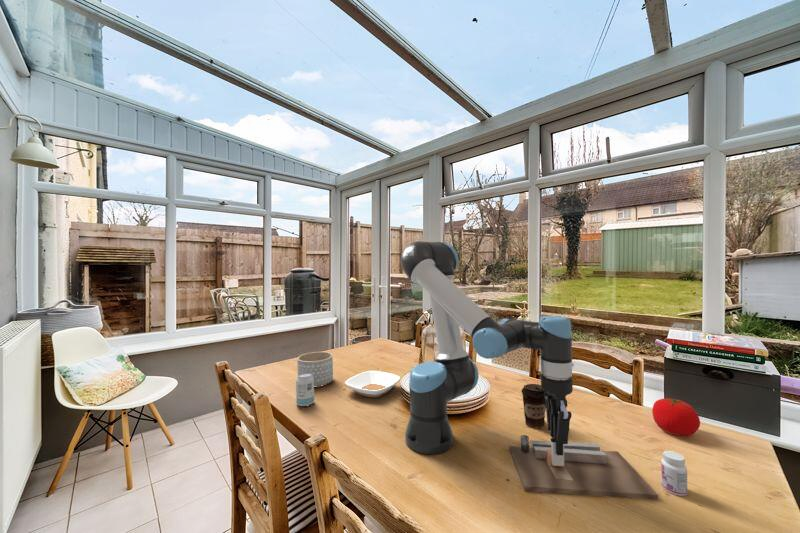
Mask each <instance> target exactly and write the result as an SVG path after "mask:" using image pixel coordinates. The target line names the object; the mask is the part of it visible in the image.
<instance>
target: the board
mask: <svg viewBox="0 0 800 533" xmlns="http://www.w3.org/2000/svg"><path fill="white" fill-rule="evenodd" d="M508 449H509V454H510V455H511V459H512V460H513V463H514V466H515V470H516V472H517V475H518V477H519V480H520V483H521V486H522V488H523V490H524V491H523V492H534V493H548V494H549V493H550V494H562V495H563V494H565V495H577V494H578V495H579V496H591V495H592V496H595V497H606V496H610V497H609V498H620V499H621V498H622V499H623V498H626V499H637V500H638V499H639V500H641V499H642V500H650V501H651V500H653V501H654V500H655V501H659V498H660V497H659V493H657V492H656V491H655V489H654V488H653V487H652V486H651V485H650V484H649V482H647V481H646V480H645V479H644V478H643V477H642V476H641V475H640V473H638V472H637V470H635V468H634V467H633V466H632V465H631V464H630V463H629V462H628V461H627V460H626V458H624V457H623V456H622V454H620V452H619V451H616V450H615V451H613V450H612V451H611V450H602V451H603V452H604V453H605V454H606V460H607V464H597V463H585V462H572V461H564V466H550V465H549V463H548V461H547V459H536V458H535V456H534V452H533V451H532V449H531V446H529V453H524V452H522V451H521V446H516V445H515V446H511V445H509V446H508ZM578 495H577V496H578Z"/></svg>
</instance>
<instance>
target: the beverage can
mask: <svg viewBox="0 0 800 533" xmlns="http://www.w3.org/2000/svg"><path fill="white" fill-rule="evenodd" d="M295 392H296V394H295V395H296V398H295V399H296V400H295V401H296V405H297V406H299V407H301V406H307V405H310V404H311V405H312V404H313V403H314V402H315V388H314V378H313V376H312V374H311V373H301V374H299V375H298V374H297V377H296V379H295ZM311 405H310V406H311ZM307 407H308V406H307Z"/></svg>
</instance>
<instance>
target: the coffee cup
mask: <svg viewBox="0 0 800 533" xmlns="http://www.w3.org/2000/svg"><path fill="white" fill-rule="evenodd" d="M520 392H521V394H522V400H523V403H522V404H523V413H524V420H525V421H524V423H525V425H526V426H528V427H531V428H534V429H542V428H545V427H546V423H545V422H546V421H545V418H546V403H545V397H544V392H546V391H544V390H543V389H542V388H541V384H538V383H528V384H525V385H523V387H522V388H521V391H520Z"/></svg>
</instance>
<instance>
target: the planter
mask: <svg viewBox="0 0 800 533" xmlns="http://www.w3.org/2000/svg"><path fill="white" fill-rule="evenodd" d="M296 360H297V361H296V362H297V366H296V367H297V376H298V375H299V374H301V373H311V374H312V376H313V378H314V386H321V385H325V384H327V383H328V384H329V383H331V382H332V381H333V380H334V361H333V360H334V359H333V353H331V352H328V351H313V352H307V353H304V354H303V353H302V354H301V355H299V356H297V359H296ZM328 384H327V385H328ZM325 386H326V385H325Z"/></svg>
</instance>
